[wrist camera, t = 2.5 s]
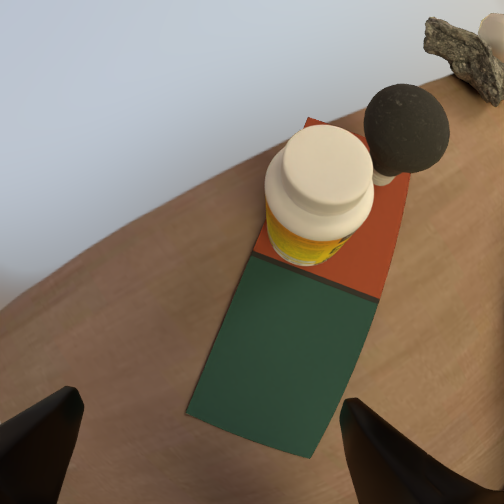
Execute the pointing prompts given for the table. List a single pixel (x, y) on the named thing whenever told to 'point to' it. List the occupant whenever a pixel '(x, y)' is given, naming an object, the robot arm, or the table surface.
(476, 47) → the rock
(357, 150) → the supplement bottle
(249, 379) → the sorting mat
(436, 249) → the table surface
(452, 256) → the table surface
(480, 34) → the potion bottle
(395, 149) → the light bulb
